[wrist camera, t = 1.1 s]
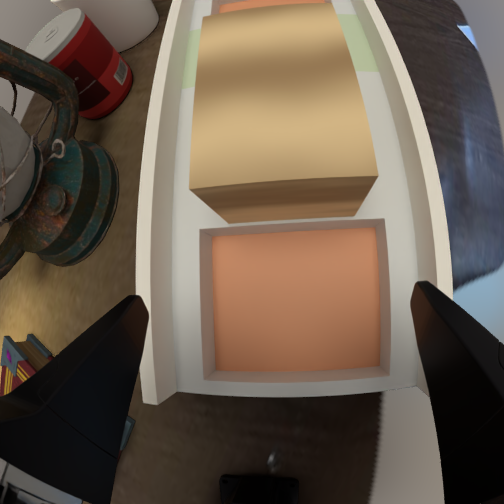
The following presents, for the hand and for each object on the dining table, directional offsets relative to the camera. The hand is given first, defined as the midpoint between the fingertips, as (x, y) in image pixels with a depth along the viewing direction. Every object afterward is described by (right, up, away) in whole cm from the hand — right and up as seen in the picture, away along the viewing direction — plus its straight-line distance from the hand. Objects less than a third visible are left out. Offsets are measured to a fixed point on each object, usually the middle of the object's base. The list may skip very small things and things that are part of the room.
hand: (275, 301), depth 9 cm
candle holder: (-16, +30, +20) cm, 39 cm away
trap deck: (+2, +12, +14) cm, 18 cm away
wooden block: (+2, +9, +10) cm, 14 cm away
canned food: (-17, +19, +18) cm, 32 cm away
